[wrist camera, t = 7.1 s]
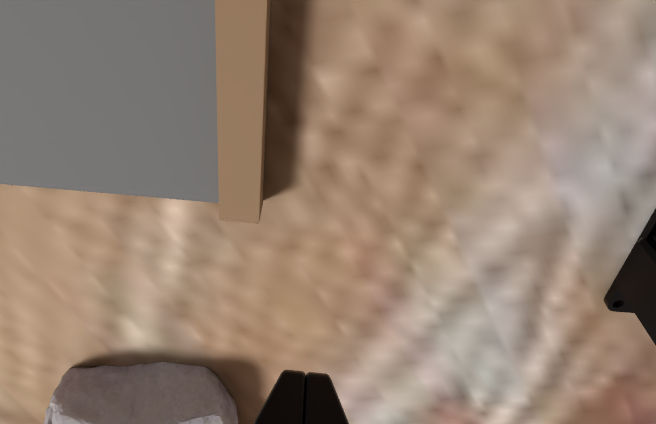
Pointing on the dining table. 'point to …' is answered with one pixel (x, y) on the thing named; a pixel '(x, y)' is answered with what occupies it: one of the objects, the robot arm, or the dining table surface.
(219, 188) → the mat
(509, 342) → the dining table surface
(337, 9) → the dining table surface
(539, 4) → the dining table surface
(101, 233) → the dining table surface
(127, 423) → the stone block
